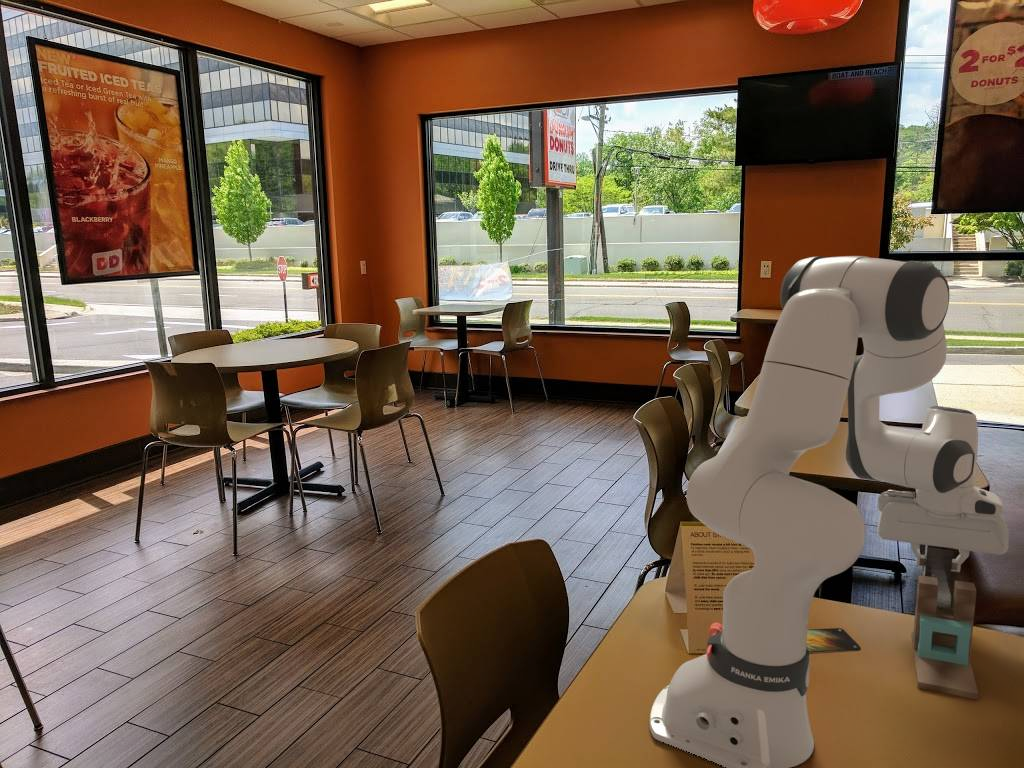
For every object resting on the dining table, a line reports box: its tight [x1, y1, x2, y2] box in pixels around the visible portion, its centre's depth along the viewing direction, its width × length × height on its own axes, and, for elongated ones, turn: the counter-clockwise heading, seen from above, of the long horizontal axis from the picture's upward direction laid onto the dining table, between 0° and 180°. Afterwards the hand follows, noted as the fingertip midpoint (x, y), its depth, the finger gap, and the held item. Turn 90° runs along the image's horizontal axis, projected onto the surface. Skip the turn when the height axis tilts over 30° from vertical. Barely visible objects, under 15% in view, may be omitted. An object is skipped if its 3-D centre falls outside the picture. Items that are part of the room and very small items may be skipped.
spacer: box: [917, 615, 971, 666], centre depth 120 cm, size 7×2×6 cm, turn 65°
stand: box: [910, 574, 979, 701], centre depth 118 cm, size 8×16×13 cm, turn 155°
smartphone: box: [806, 627, 862, 654], centre depth 128 cm, size 7×1×15 cm
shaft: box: [922, 545, 954, 610], centre depth 128 cm, size 4×14×7 cm, turn 155°
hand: (937, 567), depth 133 cm, fingers closed on shaft, 4 cm apart
